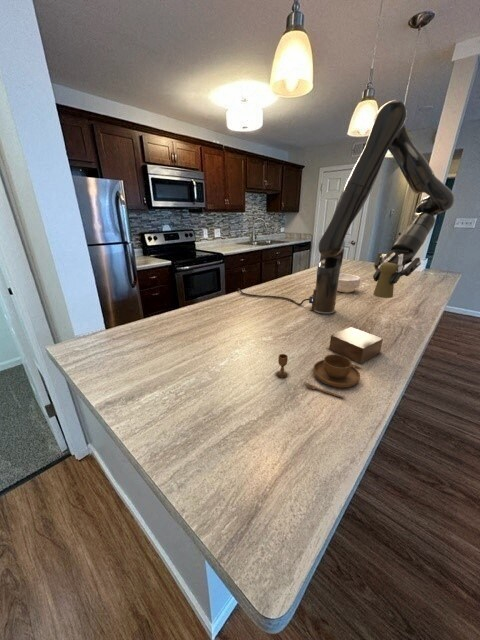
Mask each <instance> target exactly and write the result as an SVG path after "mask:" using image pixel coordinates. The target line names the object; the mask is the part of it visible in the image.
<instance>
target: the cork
mask: <svg viewBox="0 0 480 640" xmlns="http://www.w3.org/2000/svg"><path fill="white" fill-rule="evenodd" d="M382 263H383V262H382ZM382 263H381V264H382ZM397 269H398V266H397V265H396V264H394V263H383V264H382V265H381V266H380V272H381V274H380V276H379V279H378V281H376V282H377V283H376V284H375V288H374V290H373V294H372V295H373V296H374V297H377V298H381V299H392V298H393V297H394V286H395V284H394V285H391V284H390V279H391V278H392V276H393V275H394V274H395V272H397Z"/></svg>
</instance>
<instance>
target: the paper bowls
mask: <svg viewBox="0 0 480 640" xmlns="http://www.w3.org/2000/svg"><path fill="white" fill-rule="evenodd" d="M360 285H361V277H360V276H358V275H356V274H355V275H354V274H349V273H340V275H339V282H338V289H337V292H339V293H352V292H354V291H355V290H356V289H358V288H359V287H360Z"/></svg>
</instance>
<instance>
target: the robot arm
mask: <svg viewBox="0 0 480 640" xmlns="http://www.w3.org/2000/svg"><path fill="white" fill-rule="evenodd" d="M407 115H408V112H407V107H406V105H405V103H404V102H403V101H401V100H399V99H393V100H390V101H388V102H386V103H385V104H383V105H382V106H381V107H380V108H379V110H378V111H377V112H376V114H375V116H374V119H373V124H372V127H371V130H370V132H369V135H368V137H367V141H366V143H365V145H364V148H363V150H362V152H361V153H360V156H359V157H358V159H357V161H356V162H355V164H354V167H353V168H352V170H351V172H350V175H349V176H348V178H347V180H346V183H345V185H344V187H343V189H342V192H341V193H340V197H339V199H338V202H337V204H336V207H335V209H334V213H333V215H332V218H331V220H330V222H329V224H328V226H327V228H326V230H325V231H324V233H323V235H322V236H321V238H320V240H319V242H318V252H319V254H320V256H319V257H320V258H319V262H318V265H317V269H316V278H315V286H314V287H315V288H314V289H313V293H312V294H311V295H310V296H309V298H304V299H302V300H301V302H300V303H298V302H296V301H295V300H293V299H292V298H289V297H285V296H277V295H264V294H263V295H262V294H251V293H246V292H244V291H242V289H240V288H237V289H236V292H237V291H239V292H240V293H241V294H243V295H246V296H250V297H259V298H276V299H282V300H283V299H284V300H287V301H291V302H292V303H293V304H295V305H298V306H301V305H302V304H304V302H306V301H308V304H311V311H313V312H315V313H318V314H322V315H331V314H334V313H335V311H336V309H335V308H336V302H337V295H338V291H337V289H338V282H339V275H340V274H341V269H342V265H343V260H344V259H343V258H344V253H345V248H346V247H345V246H346V242H345V241H346V240H345V239H346V237H347V234H348V231H349V229H350V228H351V226H352V224H353V222H354V220H355V219H356V218H357V216H358V215H359V213H360V212H361V210H362V209H363V207H364V206H365V203H366V202H367V200H368V198H369V196H370V194H371V192H372V189H373V188H374V186H375V183H376V181H377V179H378V176H379V173H380V170H381V167H382V165H383V162H384V160H385V157H386V155H387V153H388V152H389V153H390V154H391V156H392V157H393V159H394V160H395V162H396V164H397V166H398V168H399V170H400V171H401V173H402V175H403V177H404V179H405V181H406V182H407V184H408V186H409V188H410V190H411V191H412V193H413V194H415V195H418V194H423V193H424V194H426V195H427V196H426V197H424V198H422V199H421V200H420V201H418V203H417V204H416V206H415V209H414V212H413V215H412V218H411V220H410V221H409V223H408V224H407V226H406V227H405V228H404V230H403V231H401V232H400V235H399V236H398V237H397V239H396V240H395V242H394V244H393V245H392V246H391V249H390V251H388V252H387V253H386V254H385V253H382V252H378V253H377V255H376V258H375V261H374V263H373V267H374V270H375V272H374V274H373V275H372V279H373V281H374V282H378V279H379V276H380V274H381V272H380V266H381V265H382V264H383V263H394V264H396V265H397V266H398V269H397V272H395V274H394V275H393V276H392V278H391V279H390V284H391V285H394V286H395V285H396V284H397V283H398V281H399V280H400V279H401V278H402V277H404V276H405V277H409V276H410V275H411V274H412V273H414V271H415V270H416V269H418V268H419V267H420V266H421V265H422V262H421V258H420V257H416V255H417V254H418V252H419V251H420V249H421V247H423V245H424V243H425V242H426V240H427V237H428V235H429V234H430V233H431V231H432V230H433V228H434V226H435V225H436V217H435V216H437V215H440V214H442V213H444V212H446V211H449V210H451V208H452V207H453V206H454V203H455V195H454V193H453V191H452V189H451V188H449V187H448V186H447V185H446V184H444V182H442V181H441V180H440V179H439V178H438V177H437V176H436V175H435V173H434V171H433V169H432V167H431V166H430V164H429V162H428V160H427V158H426V157H425V156H424V155H423V154H422V152H420V150H419V149H418V148H417V147H416V145H415V144H414V142H413V141H412V139H411V137H410V136H409V133H408V130H407V127H406V125H405V123H406V120H407ZM406 265H407V266H406Z"/></svg>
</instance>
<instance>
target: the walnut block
mask: <svg viewBox="0 0 480 640" xmlns="http://www.w3.org/2000/svg"><path fill="white" fill-rule="evenodd" d="M329 339H330V340H329V347H328V350H330V351H333V352H335V353H336V354H338V355H341V356H344V357H346V358H348V359H349V360H350V361H353V362H355V363H358V364H362V363H364V362H366V361H368V360H370V359H371V358H373V357H375V356H376V355H378V354H380V353H381V351H382V350H381V349H382V346H383V341H384V338H382V337H380V336H377V335H374V334H371V333H369V332H366V331H363V330H360V329H357V328H355V327H353V326H350V327H347V328H345V329H343V330H340V331H338V332H336V333H333V334H331V335H330V338H329Z"/></svg>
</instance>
